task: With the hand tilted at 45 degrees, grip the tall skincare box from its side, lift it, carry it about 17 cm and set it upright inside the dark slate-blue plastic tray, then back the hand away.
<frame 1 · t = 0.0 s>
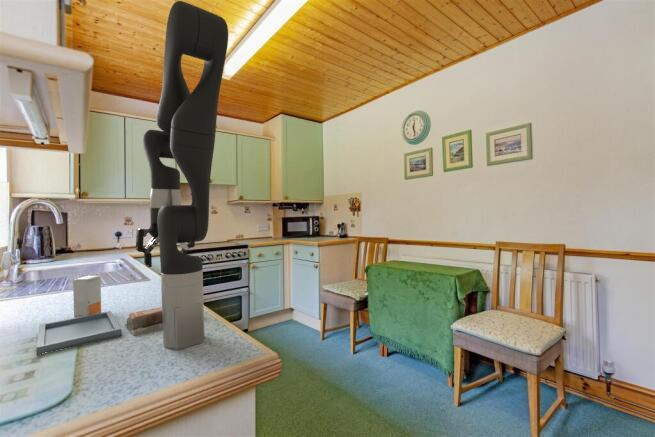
hand: (166, 264, 86), 17 cm above the table, tool pointing down, fingers open, 8 cm apart
packaged product: (165, 324, 90), on the table
skincare box: (88, 316, 97), on the table
tray: (79, 333, 83), on the table
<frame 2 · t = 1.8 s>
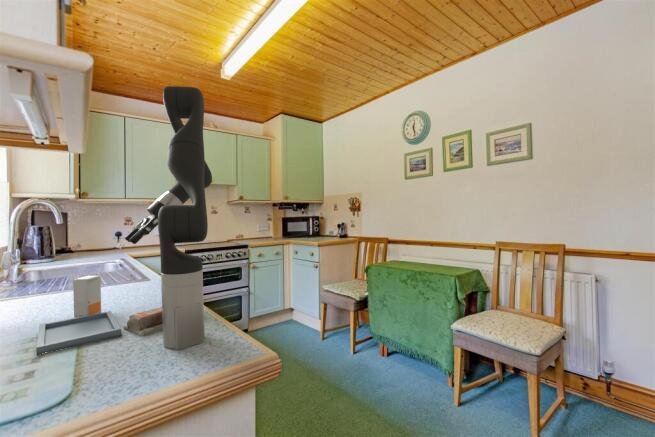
hand: (129, 241, 104), 22 cm above the table, tool tilted 45°, fingers open, 8 cm apart
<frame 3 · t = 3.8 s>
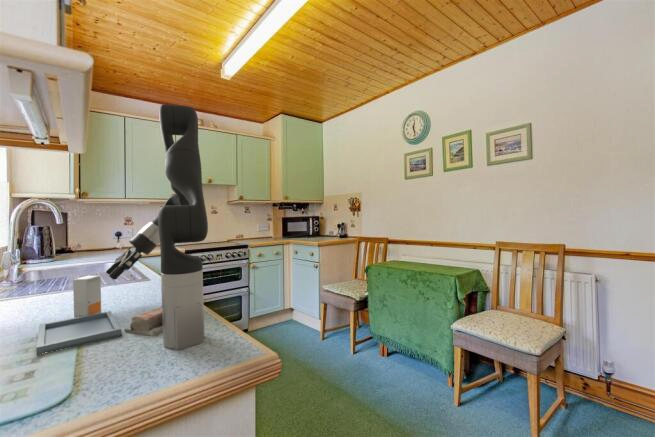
hand: (109, 276, 101), 11 cm above the table, tool tilted 45°, fingers open, 8 cm apart
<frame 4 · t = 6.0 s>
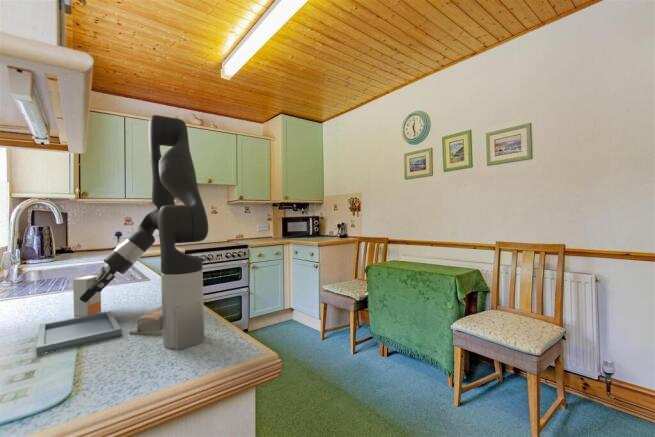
hand: (81, 298, 96), 6 cm above the table, tool tilted 45°, fingers closed on skincare box, 7 cm apart
skincare box: (88, 315, 97), on the table, touching gripper
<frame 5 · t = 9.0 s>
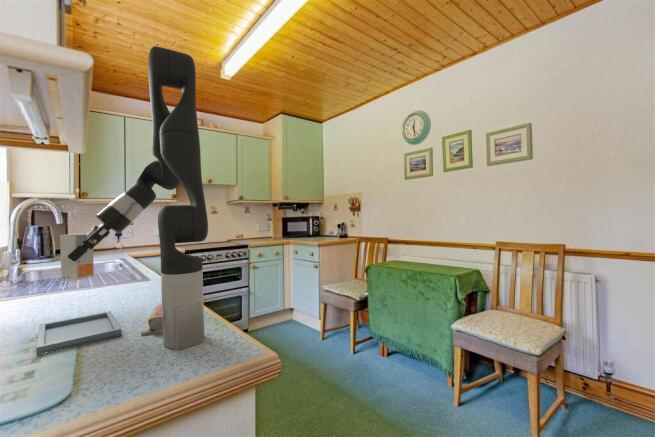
hand: (70, 258, 82), 20 cm above the table, tool tilted 45°, fingers closed on skincare box, 7 cm apart
skincare box: (78, 279, 83), point 14 cm above the table, touching gripper
when the fingers open (7 cm above the table, at t = 12.3 s): skincare box drops 1 cm, resting on tray.
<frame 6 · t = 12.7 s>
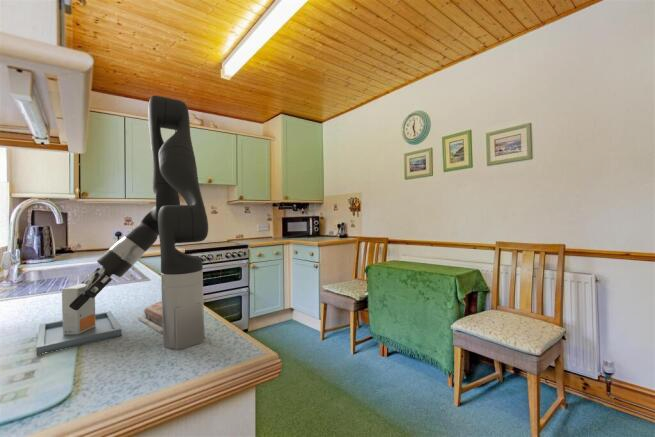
hand: (71, 304, 82), 8 cm above the table, tool tilted 45°, fingers open, 8 cm apart
skincare box: (80, 331, 83), resting on tray
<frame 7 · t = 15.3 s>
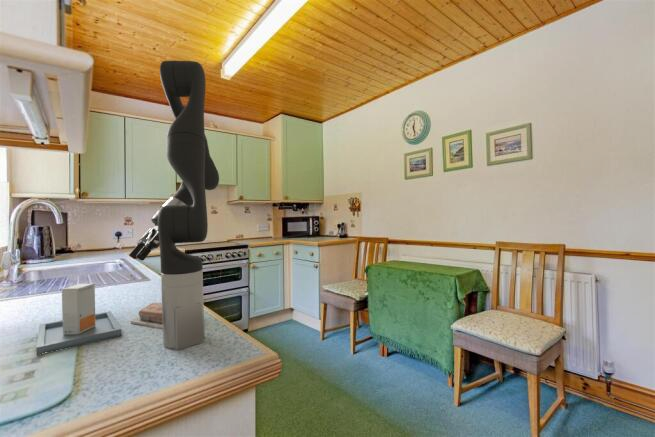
hand: (135, 258, 91), 18 cm above the table, tool tilted 40°, fingers open, 8 cm apart
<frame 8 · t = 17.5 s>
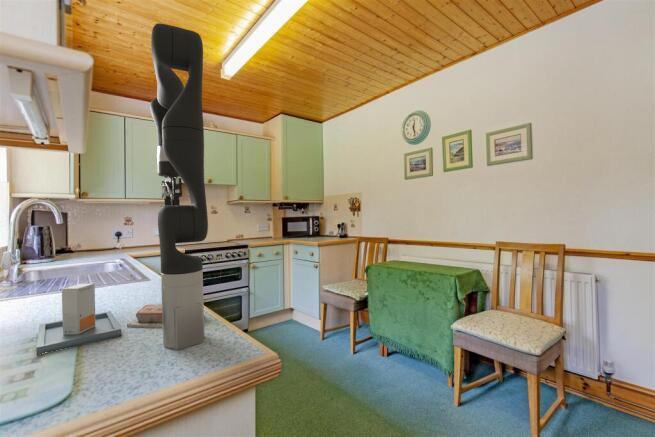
hand: (172, 211, 102), 32 cm above the table, tool pointing down, fingers open, 8 cm apart
at the end: skincare box inside the target area on the tray (0.3 cm from its centre), point 0.4 cm above the tray's base; skincare box tilted 0°; the gripper is holding nothing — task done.
